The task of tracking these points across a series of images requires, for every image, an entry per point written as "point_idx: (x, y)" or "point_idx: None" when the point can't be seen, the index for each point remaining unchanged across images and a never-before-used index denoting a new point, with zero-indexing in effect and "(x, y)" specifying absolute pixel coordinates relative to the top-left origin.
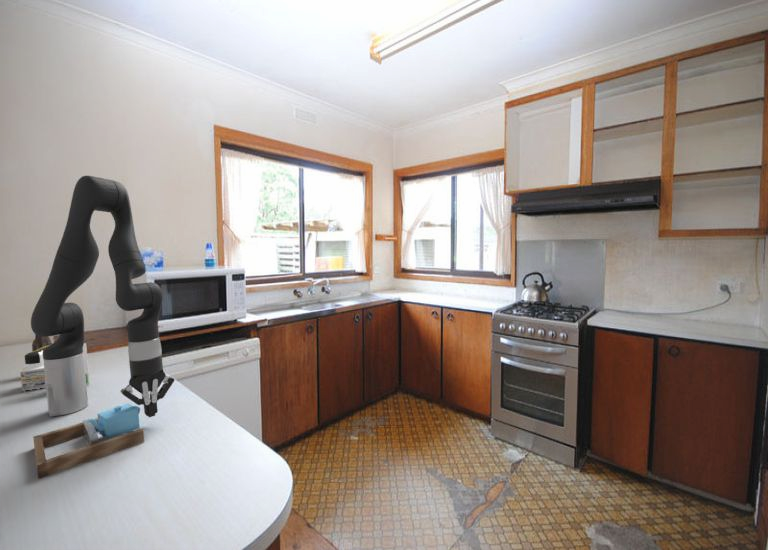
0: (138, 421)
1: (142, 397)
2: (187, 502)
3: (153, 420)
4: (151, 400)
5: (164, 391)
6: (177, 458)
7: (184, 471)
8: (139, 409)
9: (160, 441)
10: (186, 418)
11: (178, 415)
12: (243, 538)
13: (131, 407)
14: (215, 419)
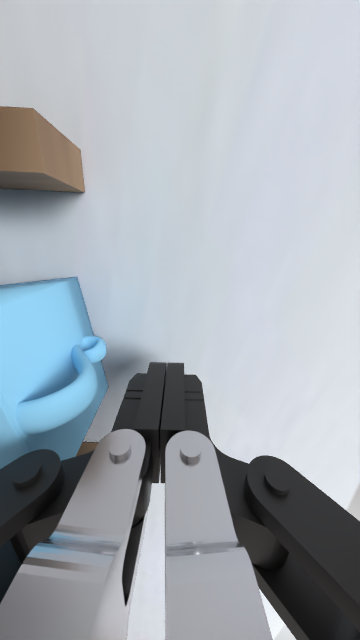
0: (92, 413)
1: (70, 525)
2: (131, 636)
3: (189, 305)
4: (165, 501)
5: (317, 624)
6: (159, 564)
7: (153, 596)
8: (88, 400)
9: (153, 486)
10: (291, 402)
11: (291, 346)
12: None
13: (1, 454)
14: (339, 479)
